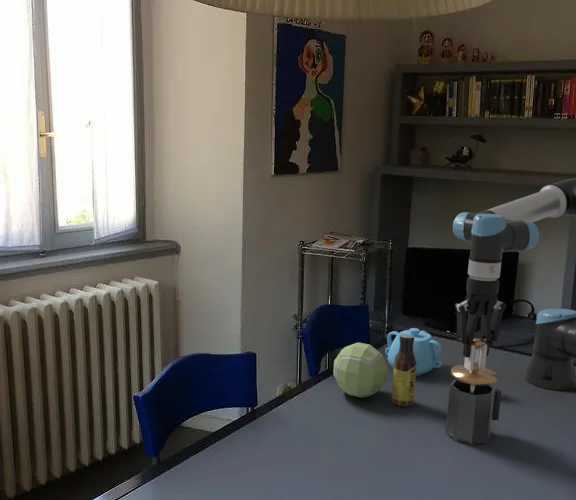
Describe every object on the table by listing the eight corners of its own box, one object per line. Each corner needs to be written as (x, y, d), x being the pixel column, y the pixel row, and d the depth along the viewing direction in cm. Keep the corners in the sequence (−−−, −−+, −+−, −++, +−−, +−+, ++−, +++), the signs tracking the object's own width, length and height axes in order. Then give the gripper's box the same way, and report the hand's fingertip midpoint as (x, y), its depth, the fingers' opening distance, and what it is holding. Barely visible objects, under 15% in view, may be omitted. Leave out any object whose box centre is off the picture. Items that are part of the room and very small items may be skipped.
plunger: (476, 407, 169) (483, 331, 165) (501, 427, 158) (510, 346, 154) (438, 411, 166) (445, 334, 162) (462, 431, 155) (470, 349, 151)
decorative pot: (382, 359, 214) (384, 321, 211) (429, 360, 215) (432, 321, 212) (391, 378, 198) (394, 337, 195) (442, 379, 199) (446, 337, 196)
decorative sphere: (343, 380, 195) (346, 333, 192) (390, 390, 188) (394, 342, 186) (325, 398, 181) (327, 348, 178) (375, 409, 175) (379, 358, 172)
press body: (483, 421, 170) (487, 376, 168) (507, 440, 160) (513, 392, 158) (438, 426, 166) (442, 380, 164) (460, 446, 156) (465, 397, 154)
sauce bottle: (413, 409, 176) (418, 341, 173) (390, 406, 178) (395, 338, 174) (413, 399, 183) (418, 333, 179) (391, 397, 184) (396, 331, 180)
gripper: (463, 282, 149) (454, 376, 154) (520, 280, 154) (510, 371, 158) (446, 274, 156) (438, 365, 161) (502, 273, 161) (492, 360, 165)
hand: (474, 368), depth 159 cm, fingers closed on plunger, 3 cm apart
